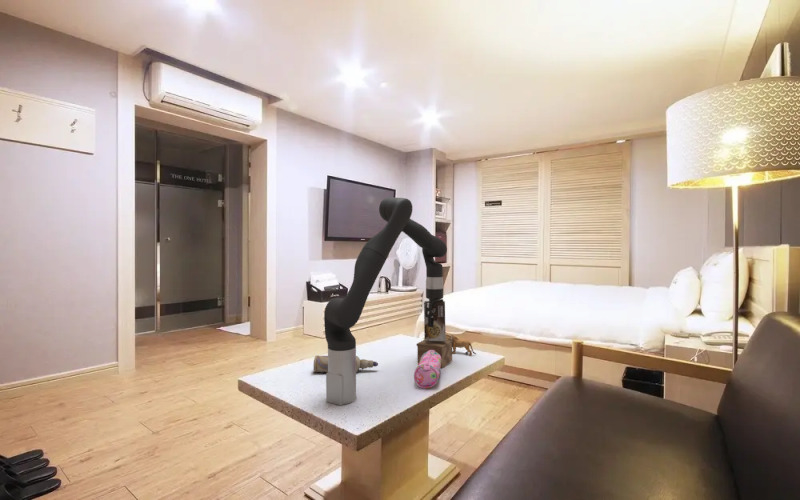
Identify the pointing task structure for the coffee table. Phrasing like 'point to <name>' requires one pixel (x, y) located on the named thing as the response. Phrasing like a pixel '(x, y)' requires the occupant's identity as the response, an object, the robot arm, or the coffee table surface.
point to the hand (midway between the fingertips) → (434, 325)
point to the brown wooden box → (436, 350)
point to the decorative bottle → (322, 364)
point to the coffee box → (435, 323)
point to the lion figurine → (460, 344)
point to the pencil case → (428, 369)
